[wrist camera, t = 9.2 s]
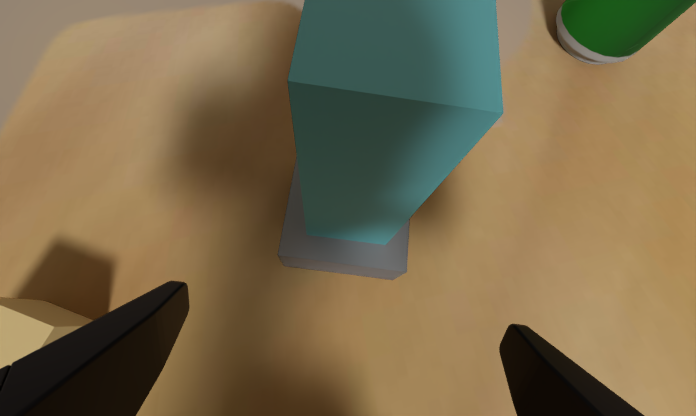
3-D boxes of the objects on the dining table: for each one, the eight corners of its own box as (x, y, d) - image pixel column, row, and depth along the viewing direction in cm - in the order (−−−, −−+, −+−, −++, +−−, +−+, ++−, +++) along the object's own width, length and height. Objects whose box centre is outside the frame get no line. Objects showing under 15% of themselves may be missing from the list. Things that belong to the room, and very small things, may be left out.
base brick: (392, 279, 21) (406, 272, 17) (283, 265, 20) (277, 255, 17) (399, 181, 23) (412, 158, 20) (302, 167, 23) (299, 141, 19)
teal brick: (385, 244, 18) (503, 113, 7) (306, 234, 18) (287, 80, 6) (390, 173, 19) (493, -34, 8) (317, 163, 19) (318, -64, 8)
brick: (107, 325, 19) (54, 327, 15) (63, 400, 17) (-9, 423, 13) (44, 300, 19) (-25, 295, 15) (-5, 373, 17) (-94, 387, 14)
